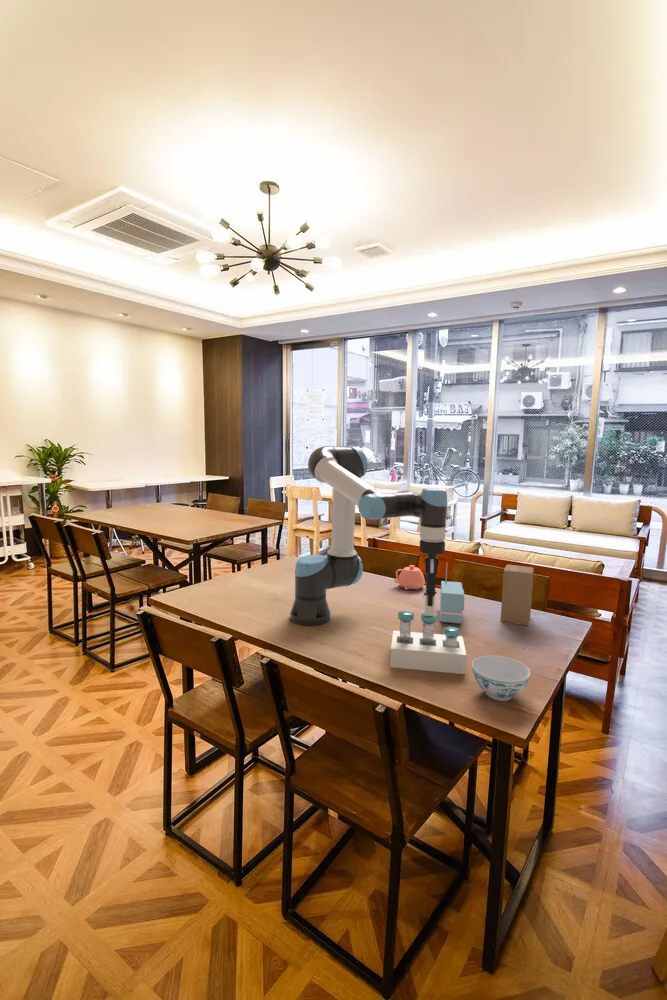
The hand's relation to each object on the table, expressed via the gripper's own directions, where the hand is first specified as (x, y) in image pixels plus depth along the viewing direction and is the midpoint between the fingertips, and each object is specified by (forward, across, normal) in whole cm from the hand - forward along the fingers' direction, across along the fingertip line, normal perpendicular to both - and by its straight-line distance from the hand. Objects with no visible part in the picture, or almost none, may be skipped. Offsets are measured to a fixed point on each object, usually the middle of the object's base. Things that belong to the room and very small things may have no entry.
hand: (429, 614), depth 154 cm
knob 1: (+10, 0, +7) cm, 12 cm away
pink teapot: (+15, +75, +7) cm, 77 cm away
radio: (+15, +40, -10) cm, 44 cm away
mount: (+15, 0, 0) cm, 15 cm away
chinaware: (+15, -17, -19) cm, 30 cm away
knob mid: (+10, 0, 0) cm, 10 cm away
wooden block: (+15, +43, -34) cm, 57 cm away
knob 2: (+14, 0, -7) cm, 15 cm away
